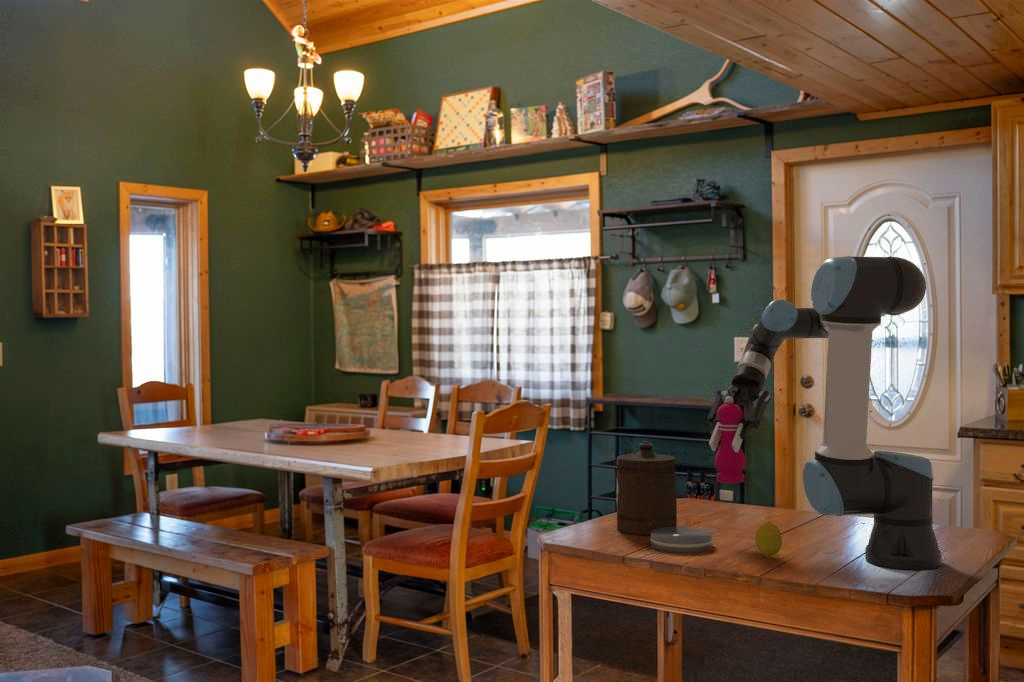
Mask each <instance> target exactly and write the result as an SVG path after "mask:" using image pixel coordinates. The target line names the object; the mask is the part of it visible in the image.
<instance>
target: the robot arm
mask: <svg viewBox="0 0 1024 682" xmlns="http://www.w3.org/2000/svg"><path fill="white" fill-rule="evenodd" d="M810 290H811V291H810V299H811V301H812V302H811V303H812V306H813V307H796V306H795V305H794V304H793V303H792V302H790V301H787V300H785V299H781V298H779V299H775V300H772V301H771V302H770V303H769V304H768V305H767V306H766V307H765V309H764V310H763V312H762V314H761V316H760V318H759V321H758V322H757V323H756V324H754V326H753V328H752V329H751V331H750V333H749V335H748V339H747V342H746V344H745V347H744V350H743V351H742V352H743V353H742V355H741V357H740V360H739V362H738V364H737V367H736V370H735V372H734V375H733V378H732V380H731V383H730V384H731V385H730V386H729V387H728V388H727V389H726V390H723V391H722V390H721V389H717V390H716V392H715V394H716V395H715V396H716V397H715V399H714V402H713V404H712V406H711V409H710V411H709V414H708V416H707V422H709V425H710V426H711V429H710V431H709V435H710V439H709V442H708V444H709V447H710V449H711V451H712V452H713V451H714V452H715V451H716V450H717V447H718V445H719V442H720V440H721V439H722V434H721V430H719V428H720V426H719V424H721V422H720V421H719V420H718V418H717V411H718V408H719V407H720V406H721V405H723V404H727V402H726V398H727V397H732V398H733V400H734V401H733V404H736V405H738V406H739V407H740V406H743V417H742V420H741V421H742V422H739V426H738V429H737V431H736V434H735V437H734V439H733V442H732V447H733V449H734V451H735V452H738V451H739V448H740V447H741V445H742V442H743V440H746V439H747V438H748V435H749V434H750V433H749V432H750V430H752V429H755V430H756V429H759V428H760V426H761V423H762V419H763V417H764V414H765V411H766V408H767V405H768V404H769V403H770V402H771V400H772V397H771V395H770V393H769V391H768V390H764V391H763V389H764V386H765V384H766V380H767V378H768V375H769V372H770V369H771V367H772V364H773V361H774V358H775V356H776V354H777V351H778V350H779V349H780V347H781V345H782V344H783V342H784V341H785V340H787V339H788V340H789V339H790V340H791V339H793V340H794V339H795V340H796V339H827V353H826V354H827V355H826V377H825V394H824V395H825V396H824V398H825V399H824V413H823V414H824V415H823V416H824V417H823V435H822V438H823V439H822V443H820V444H819V445H818V446H816V447H815V449H814V459H810V460H808V461H806V462H805V464H804V466H803V468H802V484H803V490H804V492H805V496H806V498H807V501H808V503H809V505H810V506H811V507H812V508H813V510H814V511H815V512H816V513H818V514H820V515H822V516H835V517H836V516H837V517H842V516H859V515H873V526H872V528H871V531H870V535H869V540H868V544H867V545H866V546H865V550H864V551H865V553H864V555H865V556H864V557H865V560H866V561H867V562H868V563H870V564H873V565H876V566H879V567H885V568H891V569H899V570H911V571H912V570H917V571H919V570H921V571H922V570H931V569H936V568H939V567H941V566H942V563H943V561H942V558H943V557H942V555H943V554H942V552H941V549H939V543H938V539H937V536H936V534H935V531H934V527H933V523H934V522H933V481H934V475H933V466H932V463H931V461H930V459H928V458H926V457H924V456H919V455H915V454H907V453H904V452H897V451H888V450H875V451H872V450H871V449H870V448H869V447H868V445H867V439H868V419H869V418H868V417H869V402H870V401H869V399H870V381H871V380H870V379H871V367H872V366H871V365H872V363H871V362H872V349H873V348H872V346H873V331H874V330H876V328H877V327H879V326H880V325H882V317H885V316H899V315H902V314H905V313H907V312H910V311H912V310H914V309H915V308H917V307H918V306H919V305H920V304H921V303H922V301H923V300H924V297H925V295H926V293H927V281H926V278H925V275H924V273H923V271H922V270H921V269H920V267H918V266H917V264H915V263H913V262H912V261H910V260H908V259H906V258H903V257H898V256H850V255H847V256H837V257H835V256H833V257H829V258H828V259H825V260H824V261H823V262H822V263H821V264H820V266H819V267H818V268H817V270H816V272H815V274H814V277H813V279H812V283H811V289H810ZM756 400H757V403H756V405H755V408H754V402H755V401H756ZM753 408H754V412H753Z"/></svg>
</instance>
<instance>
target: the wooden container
mask: <svg viewBox="0 0 1024 682" xmlns="http://www.w3.org/2000/svg"><path fill="white" fill-rule="evenodd" d="M653 448H654V445H653V443H652V442H650V441H649V440H643V441H641V442H639V451H638V452H637V453H626V454H620V455H617V457H616V528H617V529H616V530H618V531H620V532H622V533H626V534H631V535H642V536H651V531H652V530H654V529H658V528H664V527H678V526H677V524H678V523H677V522H678V520H677V512H678V507H677V506H678V504H677V481H676V464H677V463H676V457H675V456H673V455H669V454H660V453H659V454H658V453H655V452H654V451H653V450H652V449H653Z"/></svg>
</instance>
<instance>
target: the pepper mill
mask: <svg viewBox="0 0 1024 682" xmlns="http://www.w3.org/2000/svg"><path fill="white" fill-rule="evenodd" d="M733 401H734V400H733V398H732V397H729V396H727V397H726V400H725V403H724V404H723V405H721V406H720V407H719V408H718V411H717V418H718V420H719V421H720V422H721V424H719V426H720V428H719V430H721V434H722V435H721V438H720V440H721V441H720V445H719V447H718V450H717V452H716V455H715V457H714V466H715V468H716V469H717V470H718V471H719V472H718V473H716V474H717V475H716V481H717V482H719V483H721V484H722V483H723V484H724V483H725V484H741V483H744V482H745V474H744V473H743V470H745V468H746V466H747V459H746V456H745V453H744V452H743V450H742V448H741V446H740V448H739V451H738V452H735V451H734V449H733V447H732V442H733V439H734V437H735V434H736V431H737V429H738V426H739V423H741V421H742V420H743V417H744V411H743V409H742V407H740V405H739V406H738V405H736V404H733ZM726 402H727V404H726Z"/></svg>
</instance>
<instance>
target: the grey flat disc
mask: <svg viewBox="0 0 1024 682" xmlns="http://www.w3.org/2000/svg"><path fill="white" fill-rule="evenodd" d="M650 547H651V548H652V549H655V550H658V551H661V552H662V551H663V552H666V553H667V552H668V553H676V554H677V553H679V554H681V553H682V554H690V553H691V554H693V553H702V552H708V551H710V550H711V549H713V533H712V531H710V530H707V529H704V528H700V527H699V528H698V527H691V526H690V527H688V526H677V527H664V528H658V529H654V530H652V531H651V535H650Z"/></svg>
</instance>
